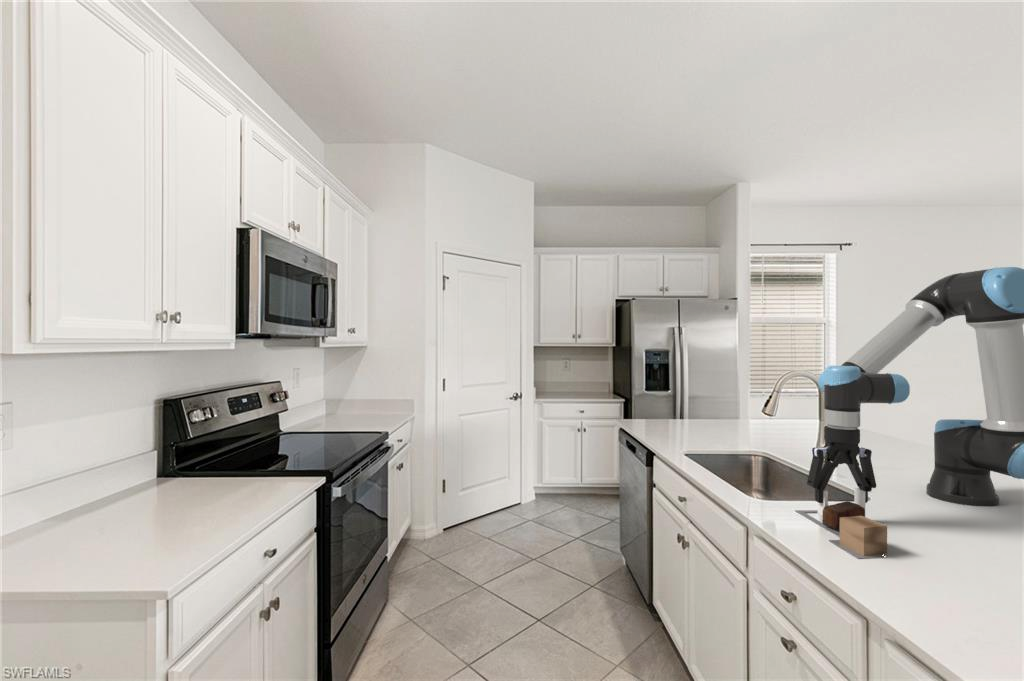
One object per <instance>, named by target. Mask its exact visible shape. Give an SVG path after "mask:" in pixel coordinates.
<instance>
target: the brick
mask: <svg viewBox="0 0 1024 681" xmlns="http://www.w3.org/2000/svg"><path fill="white" fill-rule="evenodd" d="M852 516H864V517H866V508H865V509H864V508H863V507H861V506H860V505H858V504H855V503H854V502H852V501H843V502H839V503H834V504H830V505H829V504H828V506H825V507H824V509H823V514H822V515H821V517H822V523H823V525H826V526H828V527H830V528H832V529H834V530H836V531H840V517H852Z"/></svg>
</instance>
